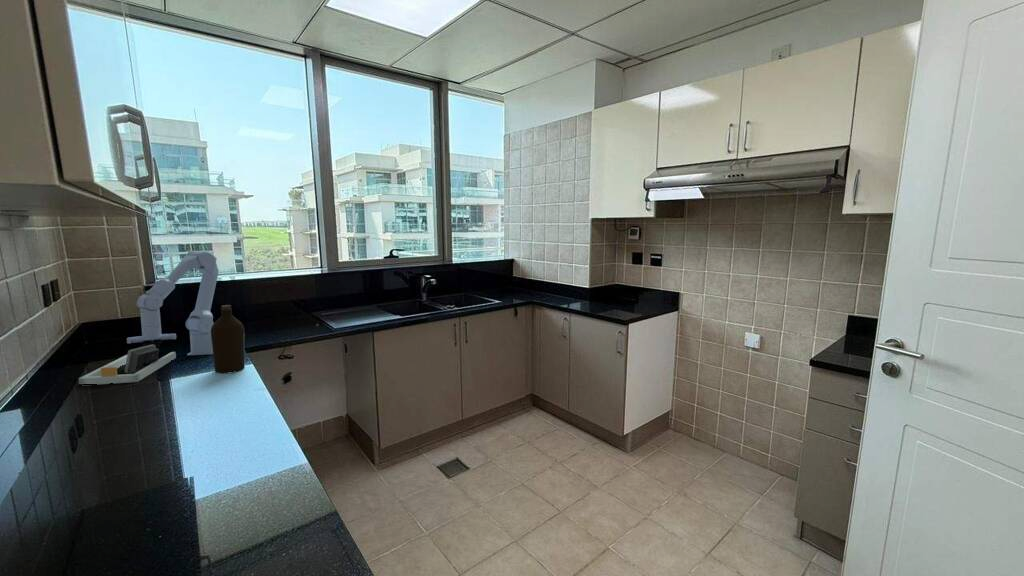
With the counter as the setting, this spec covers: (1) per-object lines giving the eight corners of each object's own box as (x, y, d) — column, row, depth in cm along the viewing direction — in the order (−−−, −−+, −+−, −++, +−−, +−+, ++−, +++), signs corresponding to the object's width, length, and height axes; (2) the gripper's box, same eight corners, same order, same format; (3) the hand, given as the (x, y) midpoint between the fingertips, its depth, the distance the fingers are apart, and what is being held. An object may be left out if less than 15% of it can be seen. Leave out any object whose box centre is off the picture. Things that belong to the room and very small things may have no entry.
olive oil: (223, 376, 153) (219, 309, 150) (207, 371, 158) (202, 306, 154) (252, 368, 162) (249, 305, 159) (236, 363, 167) (232, 302, 164)
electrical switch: (150, 366, 161) (150, 343, 160) (161, 368, 161) (161, 345, 159) (124, 373, 152) (123, 349, 151) (135, 376, 151) (135, 352, 150)
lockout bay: (175, 357, 172) (174, 344, 171) (137, 381, 145) (136, 366, 144) (128, 360, 167) (127, 347, 166) (79, 385, 140) (77, 369, 139)
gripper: (175, 321, 170) (178, 353, 172) (128, 324, 161) (130, 358, 163) (174, 324, 164) (176, 357, 166) (124, 328, 156) (127, 363, 157)
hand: (154, 358), depth 164 cm, fingers closed
